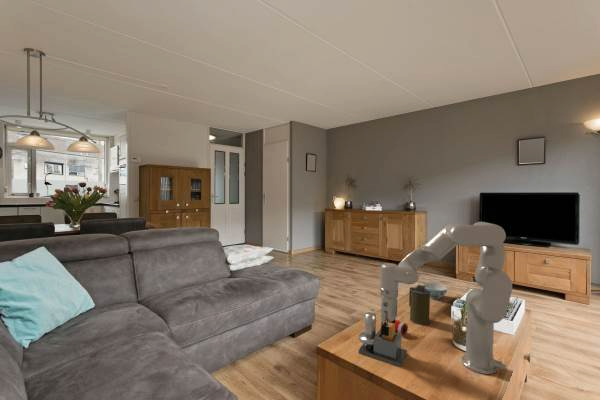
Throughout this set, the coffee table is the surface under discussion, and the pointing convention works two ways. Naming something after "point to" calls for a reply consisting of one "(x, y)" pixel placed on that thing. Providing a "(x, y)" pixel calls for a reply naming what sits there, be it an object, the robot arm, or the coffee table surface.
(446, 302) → the coffee table surface
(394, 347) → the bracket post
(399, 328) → the toy hammer
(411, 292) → the canister
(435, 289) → the chinaware
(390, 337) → the orange rectangular block
